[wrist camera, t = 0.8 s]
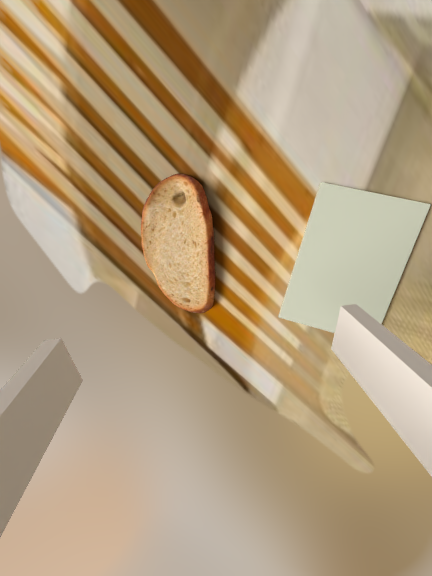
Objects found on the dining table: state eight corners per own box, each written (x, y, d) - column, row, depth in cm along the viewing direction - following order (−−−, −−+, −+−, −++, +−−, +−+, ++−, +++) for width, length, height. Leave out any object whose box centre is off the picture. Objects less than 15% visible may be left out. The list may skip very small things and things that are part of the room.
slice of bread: (201, 321, 38) (195, 328, 34) (117, 259, 39) (103, 260, 35) (266, 230, 34) (268, 228, 30) (171, 163, 34) (161, 153, 31)
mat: (320, 183, 31) (321, 182, 31) (427, 205, 30) (430, 204, 29) (278, 316, 35) (278, 317, 34) (371, 342, 33) (373, 343, 33)
